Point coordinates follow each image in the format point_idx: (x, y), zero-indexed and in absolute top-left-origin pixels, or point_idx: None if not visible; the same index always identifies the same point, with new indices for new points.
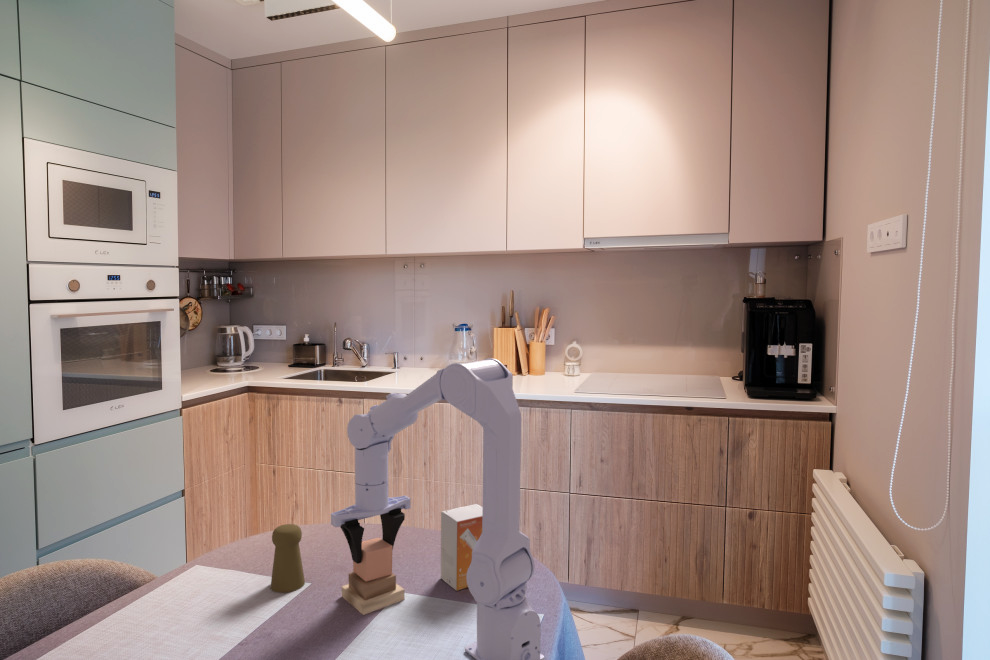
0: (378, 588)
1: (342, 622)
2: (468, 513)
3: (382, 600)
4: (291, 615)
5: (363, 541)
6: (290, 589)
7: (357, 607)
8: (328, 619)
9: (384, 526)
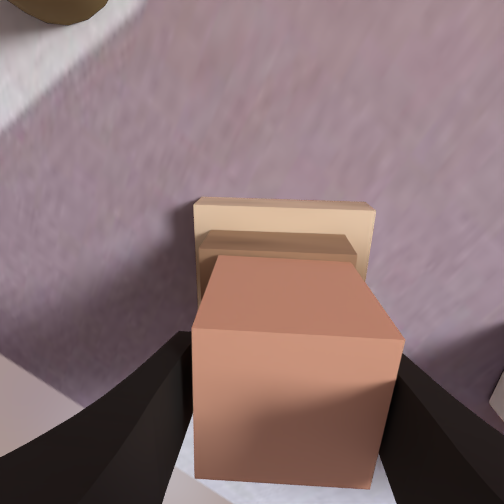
0: None
1: (144, 328)
2: None
3: None
4: (25, 201)
5: (269, 337)
6: (42, 18)
7: None
8: (116, 292)
9: (451, 502)
